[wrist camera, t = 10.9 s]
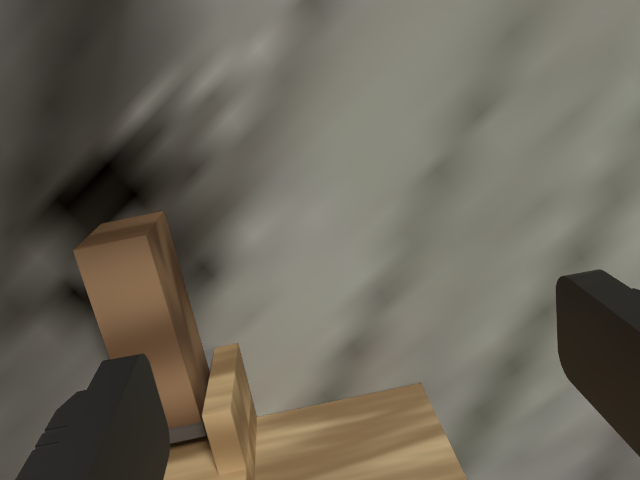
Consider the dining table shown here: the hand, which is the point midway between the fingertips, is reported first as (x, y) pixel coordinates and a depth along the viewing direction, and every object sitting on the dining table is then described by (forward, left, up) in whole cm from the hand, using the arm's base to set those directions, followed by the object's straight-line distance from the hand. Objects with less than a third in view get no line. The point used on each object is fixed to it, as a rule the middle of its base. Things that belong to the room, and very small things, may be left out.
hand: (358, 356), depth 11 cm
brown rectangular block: (+8, -11, -26) cm, 29 cm away
